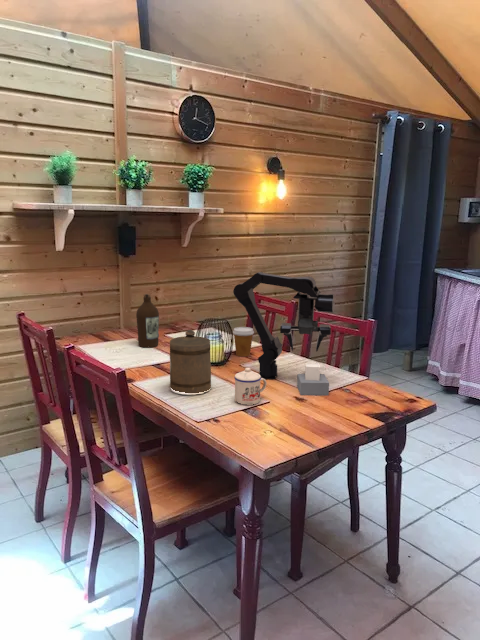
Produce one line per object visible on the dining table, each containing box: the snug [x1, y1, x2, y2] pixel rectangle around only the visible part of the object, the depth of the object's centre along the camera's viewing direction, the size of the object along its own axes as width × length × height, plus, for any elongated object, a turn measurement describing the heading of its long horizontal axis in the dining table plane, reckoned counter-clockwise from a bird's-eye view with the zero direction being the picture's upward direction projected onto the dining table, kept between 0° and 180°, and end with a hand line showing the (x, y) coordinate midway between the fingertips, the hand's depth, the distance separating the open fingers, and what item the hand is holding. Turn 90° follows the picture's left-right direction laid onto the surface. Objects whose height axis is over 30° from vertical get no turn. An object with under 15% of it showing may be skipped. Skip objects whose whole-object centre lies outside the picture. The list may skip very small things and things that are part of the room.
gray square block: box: [296, 373, 330, 396], centre depth 181 cm, size 10×10×5 cm
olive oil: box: [135, 293, 160, 349], centre depth 237 cm, size 11×11×25 cm
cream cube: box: [304, 362, 321, 381], centre depth 180 cm, size 5×5×5 cm
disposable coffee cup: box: [232, 326, 255, 358], centre depth 225 cm, size 10×10×12 cm
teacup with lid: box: [234, 367, 267, 406], centre depth 170 cm, size 12×9×12 cm
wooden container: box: [169, 329, 212, 393], centre depth 180 cm, size 15×15×22 cm
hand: (304, 350), depth 189 cm, fingers open, 9 cm apart
